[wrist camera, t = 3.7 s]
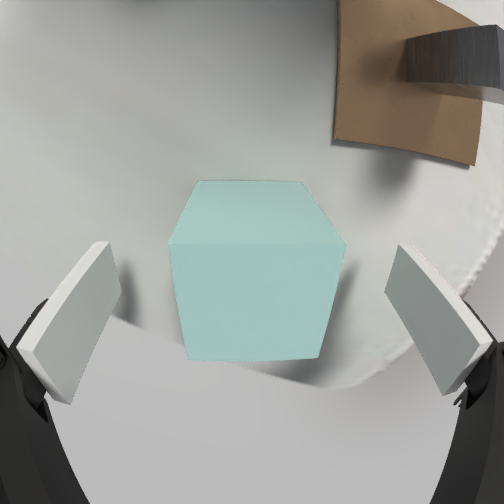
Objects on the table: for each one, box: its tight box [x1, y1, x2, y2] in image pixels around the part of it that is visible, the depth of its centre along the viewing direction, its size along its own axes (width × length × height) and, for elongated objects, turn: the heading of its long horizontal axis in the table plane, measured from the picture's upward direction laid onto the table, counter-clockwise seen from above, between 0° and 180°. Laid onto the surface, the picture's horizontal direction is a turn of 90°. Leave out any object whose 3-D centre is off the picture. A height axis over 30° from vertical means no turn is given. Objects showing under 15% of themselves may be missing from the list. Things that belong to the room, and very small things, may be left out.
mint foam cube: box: [168, 180, 346, 361], centre depth 12 cm, size 5×5×7 cm
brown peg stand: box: [333, 0, 504, 166], centre depth 7 cm, size 10×10×7 cm
